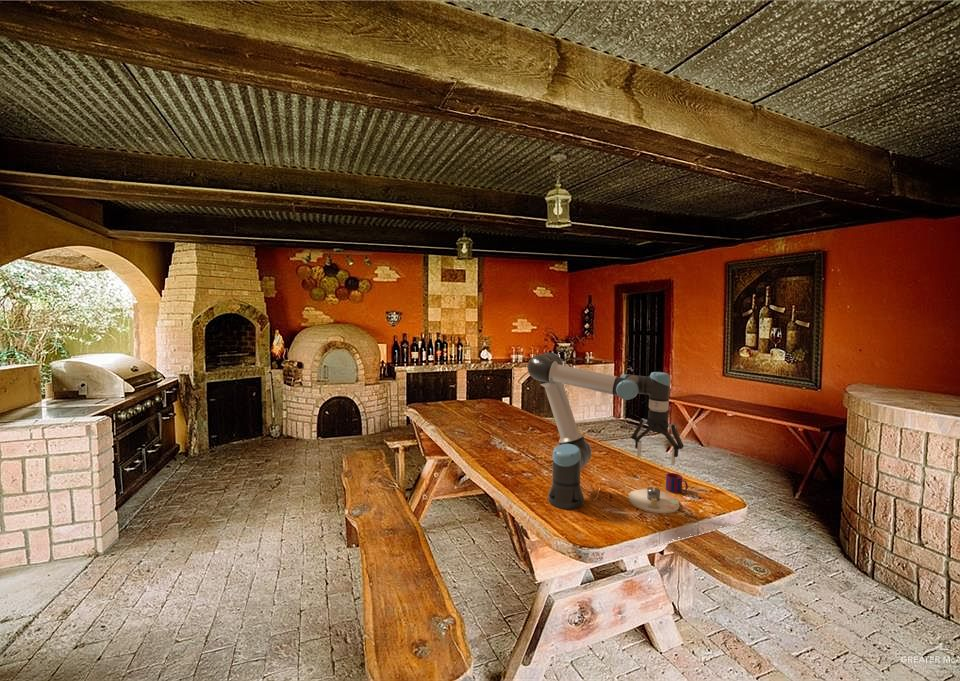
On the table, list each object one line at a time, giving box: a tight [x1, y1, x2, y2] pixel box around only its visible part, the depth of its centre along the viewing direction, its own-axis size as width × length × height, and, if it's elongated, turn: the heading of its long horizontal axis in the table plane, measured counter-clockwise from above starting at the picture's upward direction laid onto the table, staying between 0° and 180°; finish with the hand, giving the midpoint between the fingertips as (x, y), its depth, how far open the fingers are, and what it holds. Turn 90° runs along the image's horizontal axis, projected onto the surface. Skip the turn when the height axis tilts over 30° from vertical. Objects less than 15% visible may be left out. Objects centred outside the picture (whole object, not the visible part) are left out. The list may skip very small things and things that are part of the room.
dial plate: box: [628, 488, 680, 514], centre depth 179 cm, size 20×20×2 cm
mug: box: [665, 472, 689, 494], centre depth 190 cm, size 7×10×7 cm
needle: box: [646, 486, 661, 508], centre depth 176 cm, size 12×5×4 cm, turn 158°
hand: (655, 460), depth 174 cm, fingers open, 13 cm apart
